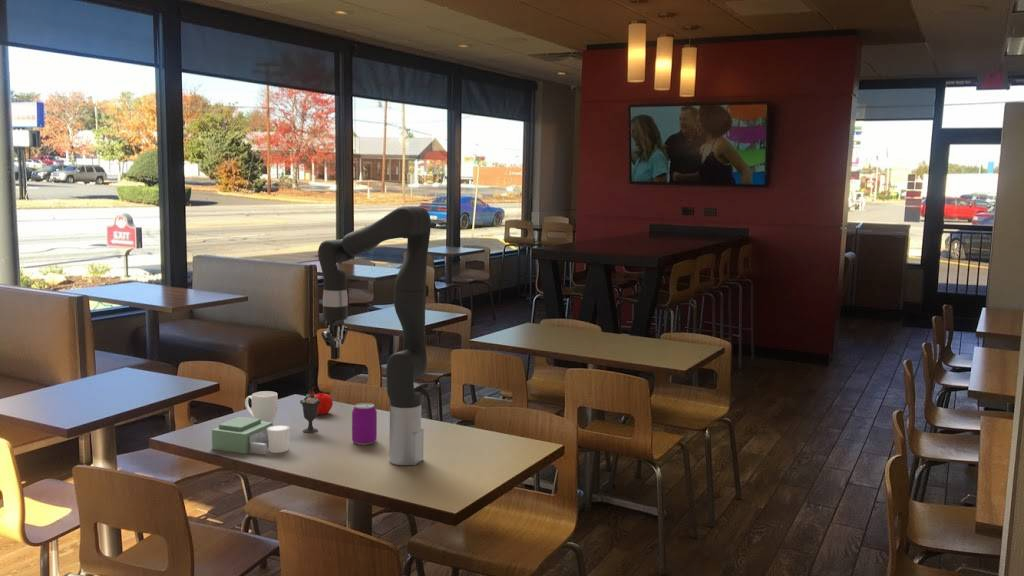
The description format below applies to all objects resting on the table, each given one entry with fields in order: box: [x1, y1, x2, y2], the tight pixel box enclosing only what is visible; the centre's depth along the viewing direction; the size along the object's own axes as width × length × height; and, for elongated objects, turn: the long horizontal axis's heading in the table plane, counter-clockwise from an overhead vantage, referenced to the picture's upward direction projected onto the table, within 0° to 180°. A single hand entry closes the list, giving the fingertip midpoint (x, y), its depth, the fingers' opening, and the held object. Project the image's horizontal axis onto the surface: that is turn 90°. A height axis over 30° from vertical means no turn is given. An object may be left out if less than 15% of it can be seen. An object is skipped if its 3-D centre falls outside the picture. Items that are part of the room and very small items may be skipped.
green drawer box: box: [211, 416, 274, 454], centre depth 258 cm, size 12×14×7 cm
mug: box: [244, 390, 279, 423], centre depth 278 cm, size 12×8×11 cm
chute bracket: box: [248, 428, 269, 456], centre depth 255 cm, size 6×11×5 cm, turn 162°
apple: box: [315, 393, 334, 415], centre depth 296 cm, size 8×8×7 cm
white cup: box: [267, 424, 291, 454], centre depth 254 cm, size 7×7×7 cm
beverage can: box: [351, 402, 378, 446], centre depth 264 cm, size 8×8×12 cm
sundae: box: [299, 387, 321, 434], centre depth 274 cm, size 7×7×15 cm
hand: (335, 358), depth 260 cm, fingers closed
